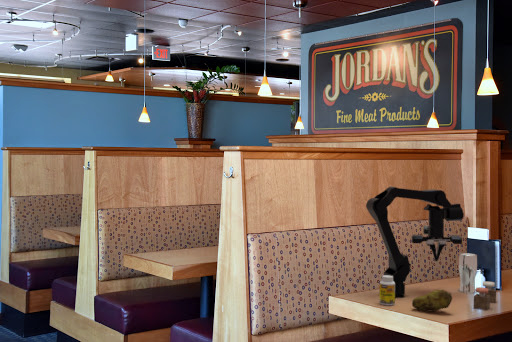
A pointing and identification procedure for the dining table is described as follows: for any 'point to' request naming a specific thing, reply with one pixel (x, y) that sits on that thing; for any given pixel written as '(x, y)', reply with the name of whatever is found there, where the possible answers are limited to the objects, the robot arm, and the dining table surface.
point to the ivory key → (489, 285)
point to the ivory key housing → (492, 295)
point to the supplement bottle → (387, 290)
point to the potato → (433, 301)
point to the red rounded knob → (482, 291)
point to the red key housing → (482, 302)
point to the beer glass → (467, 272)
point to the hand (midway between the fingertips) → (436, 261)
